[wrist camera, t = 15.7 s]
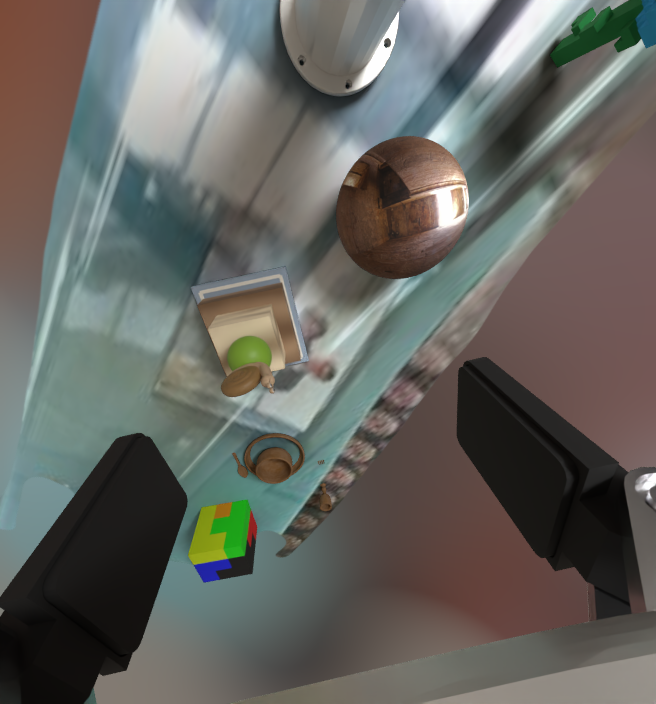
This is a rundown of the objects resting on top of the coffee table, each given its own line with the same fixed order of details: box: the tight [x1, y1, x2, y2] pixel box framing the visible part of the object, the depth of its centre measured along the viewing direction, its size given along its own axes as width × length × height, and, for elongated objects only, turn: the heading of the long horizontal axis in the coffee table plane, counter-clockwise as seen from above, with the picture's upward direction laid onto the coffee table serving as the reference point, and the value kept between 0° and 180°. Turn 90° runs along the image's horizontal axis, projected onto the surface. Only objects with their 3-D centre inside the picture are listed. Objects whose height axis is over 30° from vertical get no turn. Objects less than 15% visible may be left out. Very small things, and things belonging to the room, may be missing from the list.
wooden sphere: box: [336, 136, 469, 279], centre depth 35 cm, size 15×15×15 cm
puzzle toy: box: [188, 500, 257, 582], centre depth 63 cm, size 10×10×10 cm
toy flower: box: [550, 0, 656, 68], centre depth 28 cm, size 9×9×18 cm
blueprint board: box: [191, 266, 309, 366], centre depth 47 cm, size 16×14×1 cm
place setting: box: [232, 433, 332, 511], centre depth 60 cm, size 18×20×6 cm
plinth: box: [197, 282, 301, 377], centre depth 43 cm, size 12×12×8 cm
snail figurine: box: [221, 336, 275, 397], centre depth 34 cm, size 5×6×12 cm
